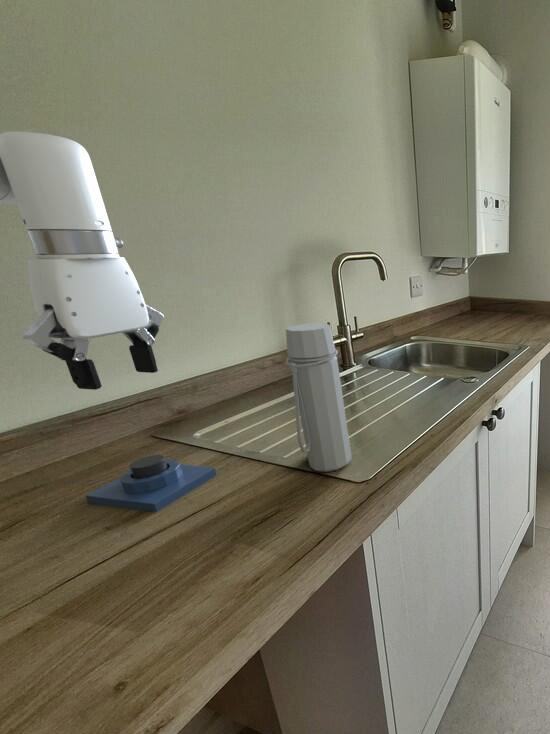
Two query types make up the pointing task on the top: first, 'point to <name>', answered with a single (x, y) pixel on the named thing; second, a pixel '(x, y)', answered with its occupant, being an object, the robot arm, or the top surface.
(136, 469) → the dark grey round knob
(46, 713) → the top surface
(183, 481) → the blue base plate
